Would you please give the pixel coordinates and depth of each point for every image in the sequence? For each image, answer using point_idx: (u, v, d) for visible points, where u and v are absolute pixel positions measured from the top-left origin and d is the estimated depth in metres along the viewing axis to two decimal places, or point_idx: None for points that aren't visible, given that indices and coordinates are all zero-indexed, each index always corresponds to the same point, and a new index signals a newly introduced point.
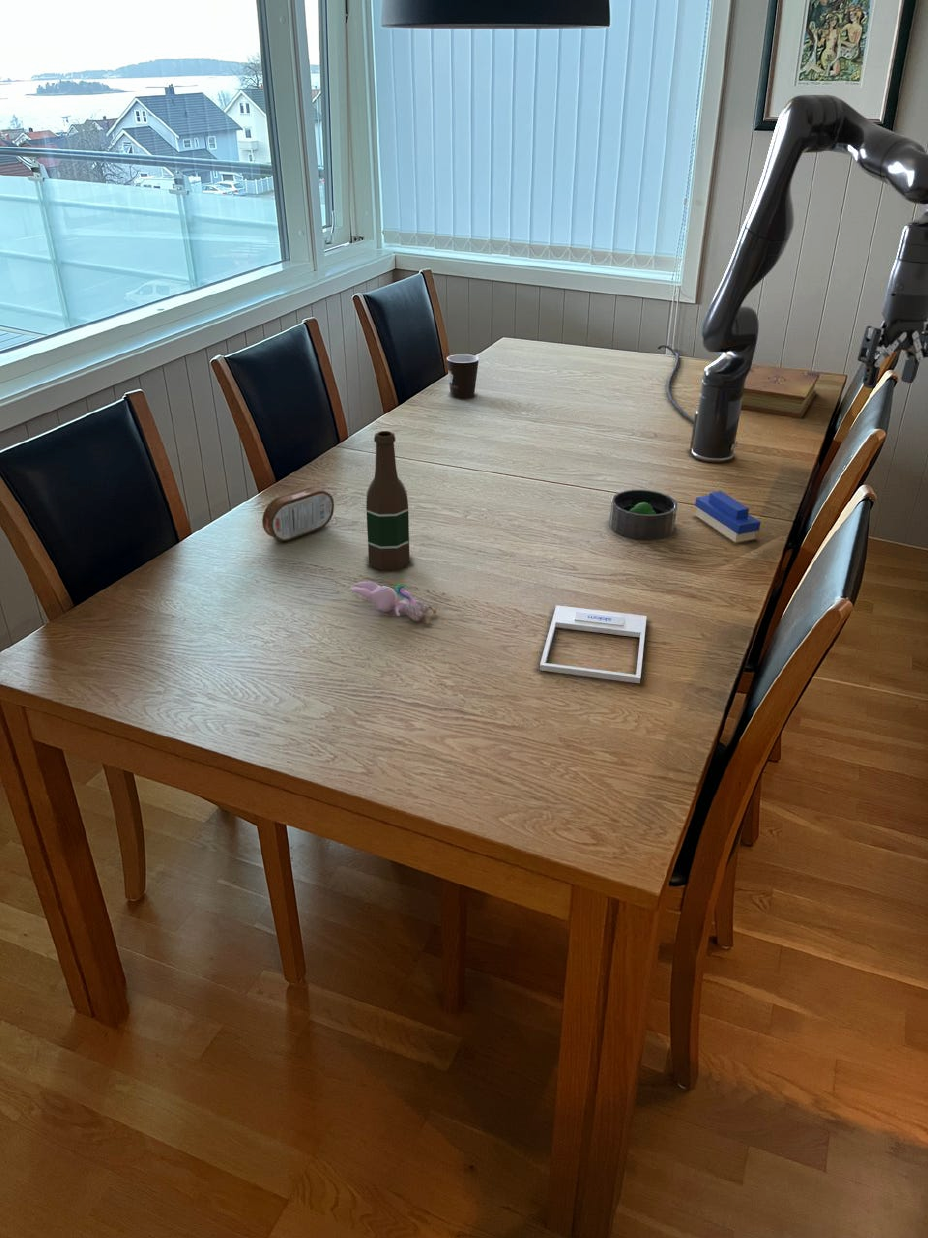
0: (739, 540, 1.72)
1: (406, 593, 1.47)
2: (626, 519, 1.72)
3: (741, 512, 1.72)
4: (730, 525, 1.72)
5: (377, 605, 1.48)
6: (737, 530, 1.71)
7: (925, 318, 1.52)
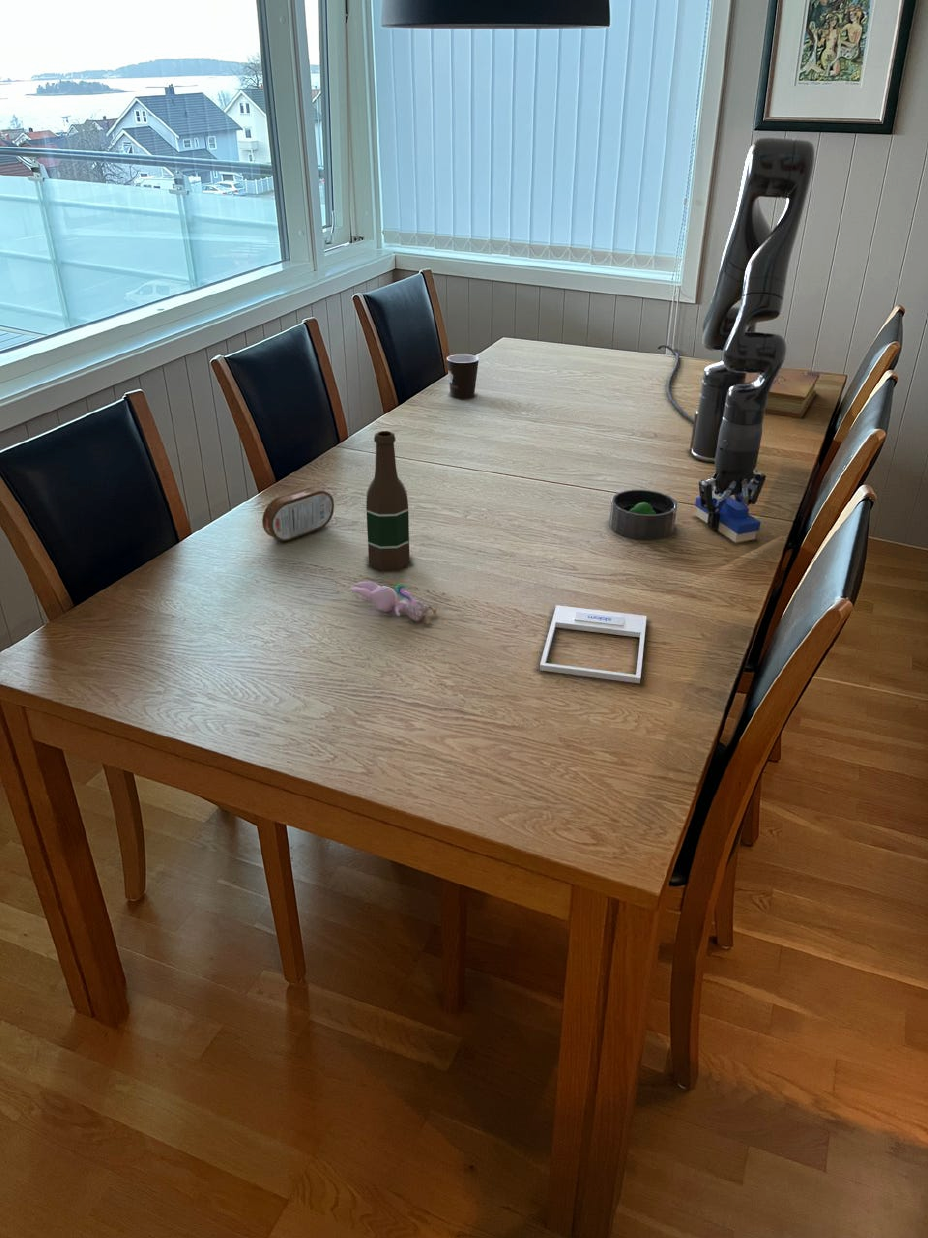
0: (739, 540, 1.72)
1: (406, 593, 1.47)
2: (626, 519, 1.72)
3: (741, 512, 1.72)
4: (730, 525, 1.72)
5: (377, 605, 1.48)
6: (737, 530, 1.71)
7: (750, 470, 1.69)
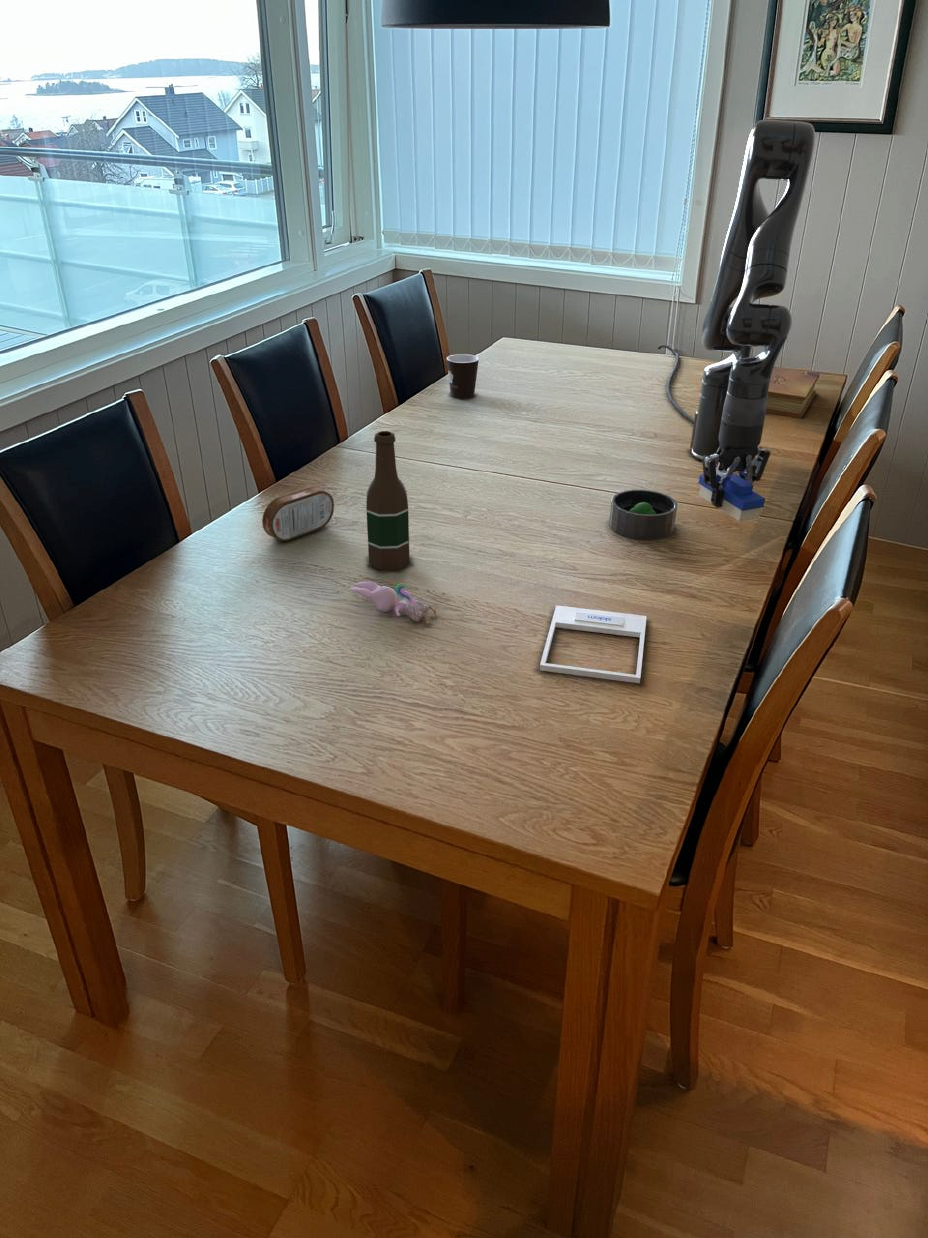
0: (743, 517, 1.70)
1: (406, 593, 1.47)
2: (626, 519, 1.72)
3: (745, 489, 1.69)
4: (734, 502, 1.70)
5: (377, 605, 1.48)
6: (741, 507, 1.68)
7: (755, 445, 1.66)
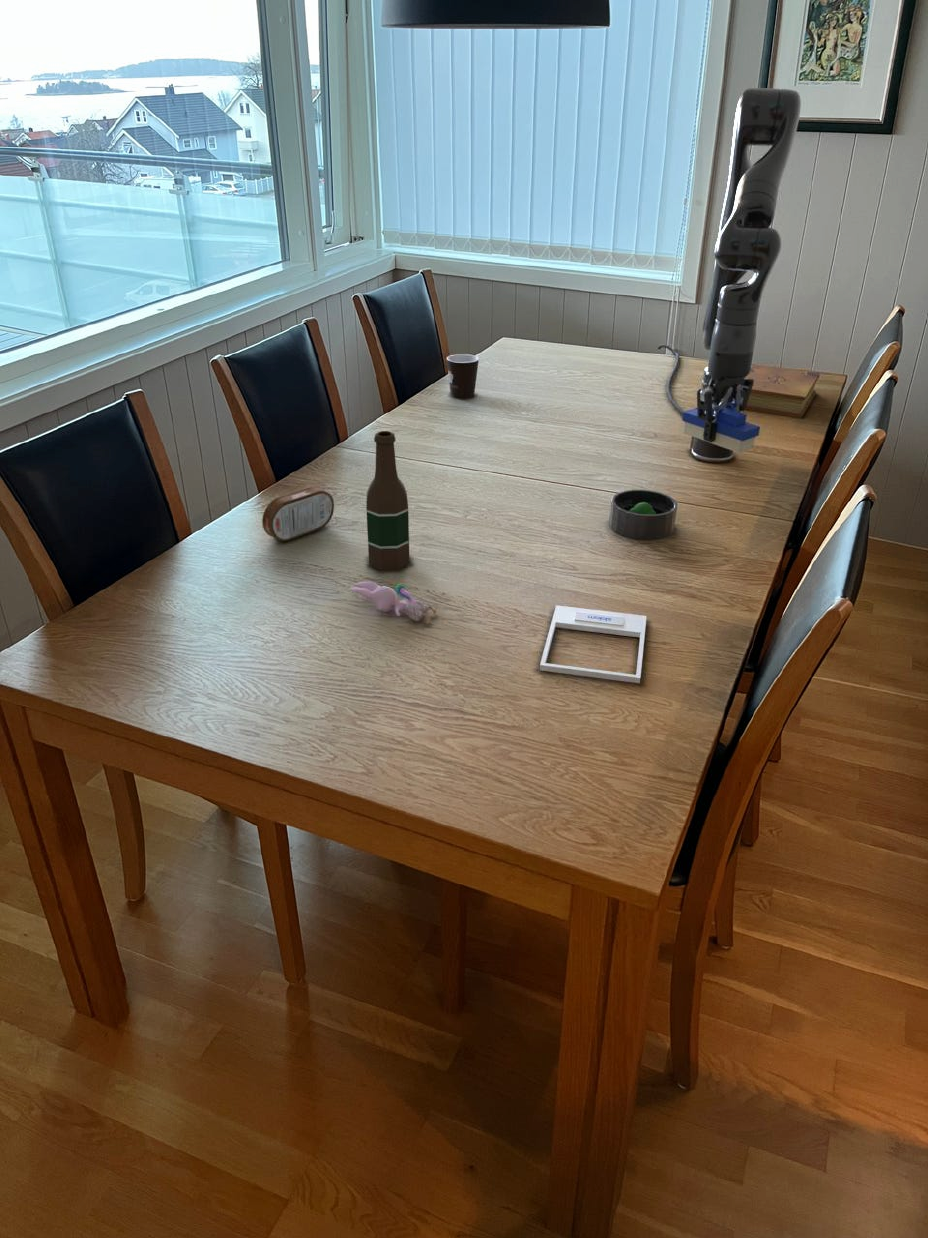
0: (742, 448, 1.68)
1: (406, 593, 1.47)
2: (626, 519, 1.72)
3: (740, 419, 1.67)
4: (731, 433, 1.67)
5: (377, 605, 1.48)
6: (741, 437, 1.66)
7: (747, 373, 1.64)
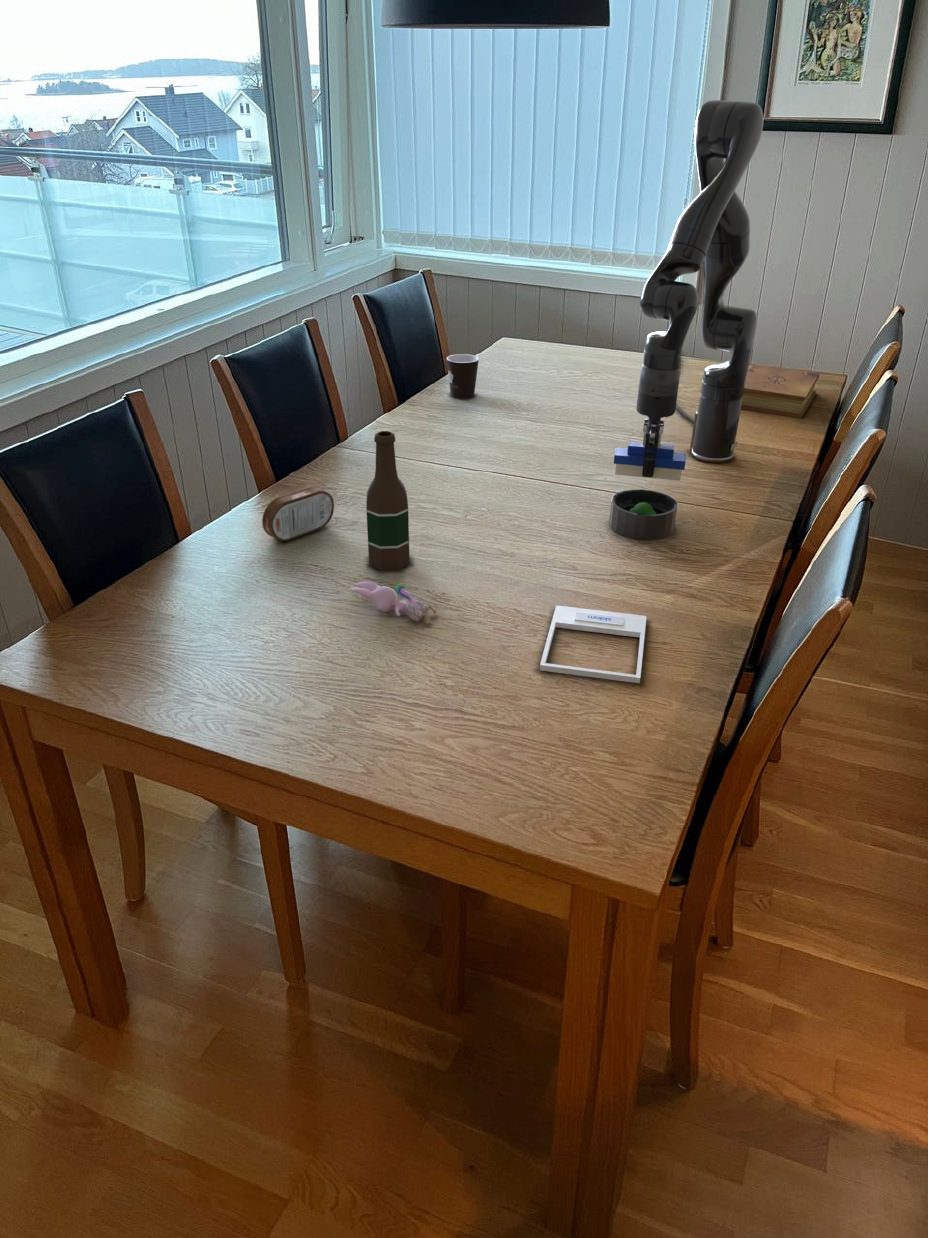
0: (680, 475, 1.84)
1: (406, 593, 1.47)
2: (626, 519, 1.72)
3: (673, 451, 1.83)
4: (671, 465, 1.82)
5: (377, 605, 1.48)
6: (683, 466, 1.82)
7: None
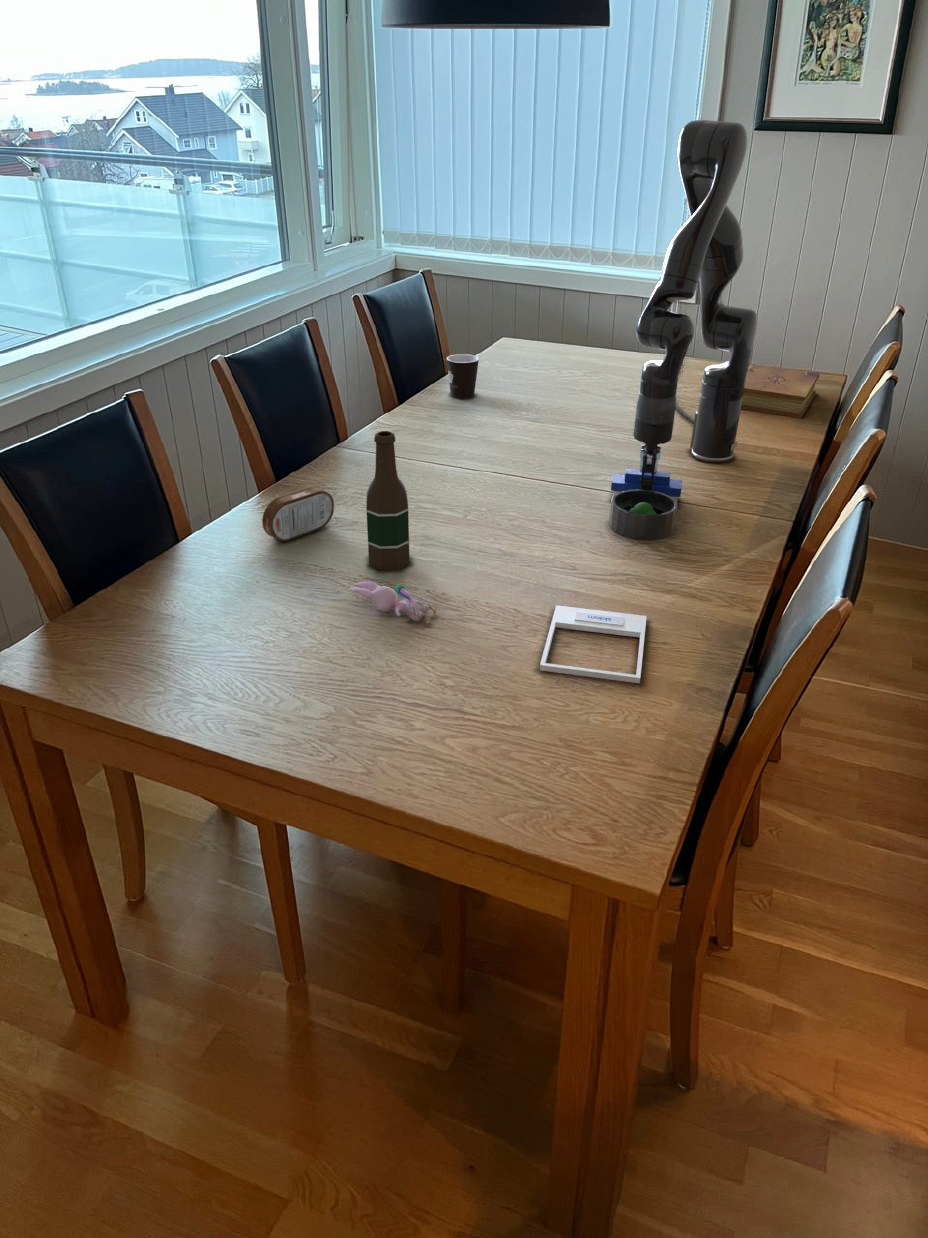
0: None
1: (406, 593, 1.47)
2: (626, 519, 1.72)
3: (669, 478, 1.86)
4: (668, 492, 1.85)
5: (377, 605, 1.48)
6: (679, 494, 1.85)
7: None
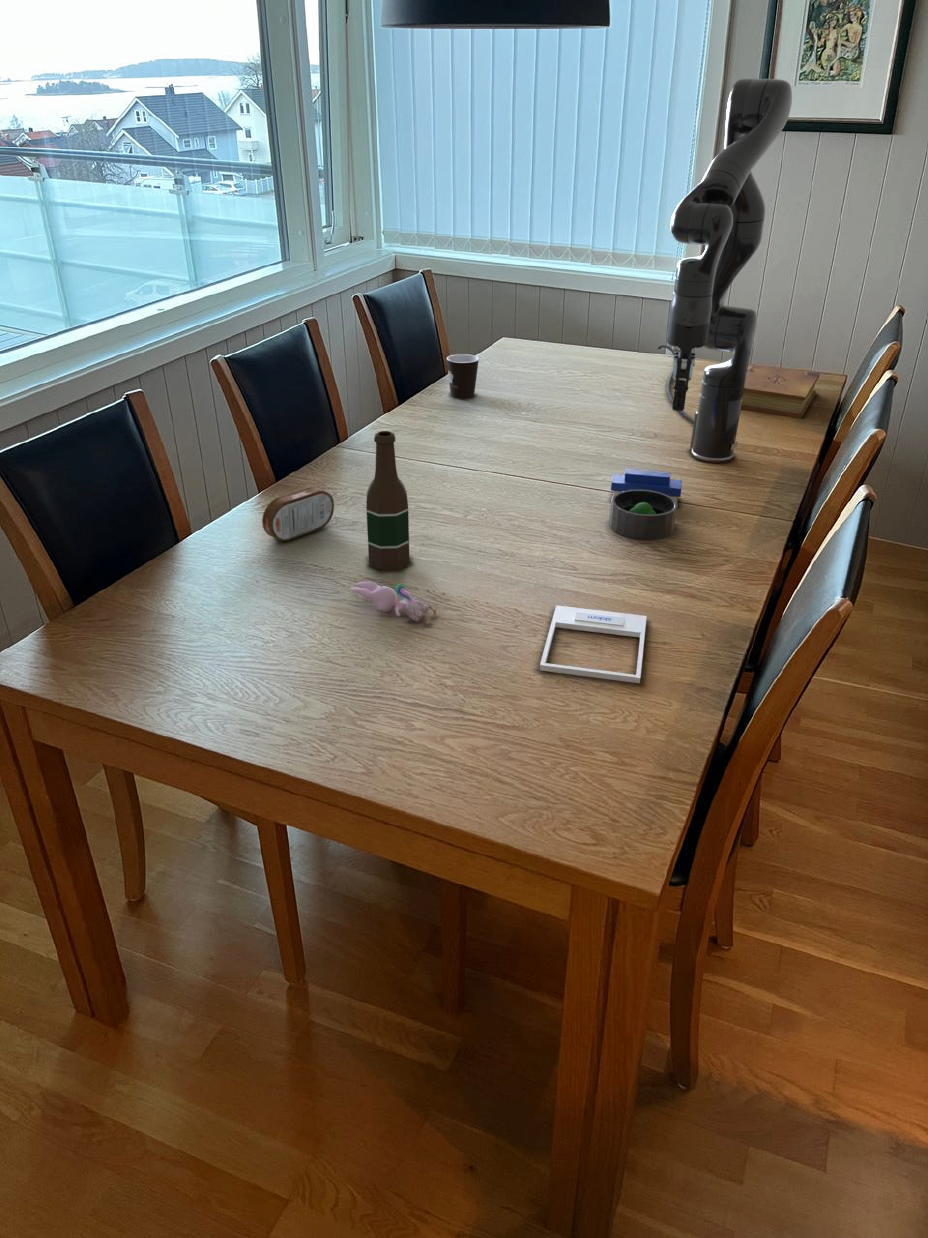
0: None
1: (406, 593, 1.47)
2: (626, 519, 1.72)
3: (669, 478, 1.86)
4: (668, 492, 1.85)
5: (377, 605, 1.48)
6: (679, 494, 1.85)
7: None
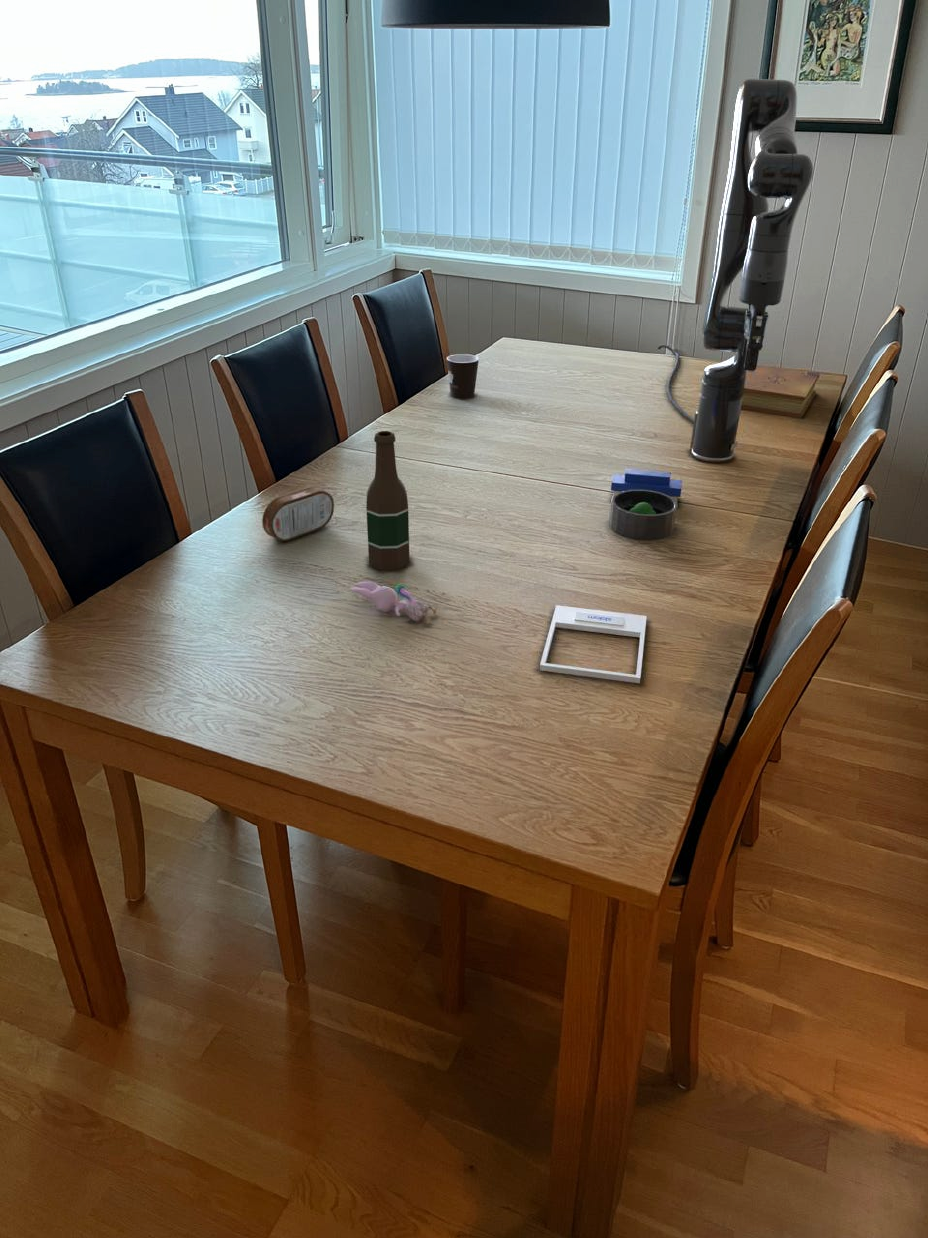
0: None
1: (406, 593, 1.47)
2: (626, 519, 1.72)
3: (669, 478, 1.86)
4: (668, 492, 1.85)
5: (377, 605, 1.48)
6: (679, 494, 1.85)
7: None
